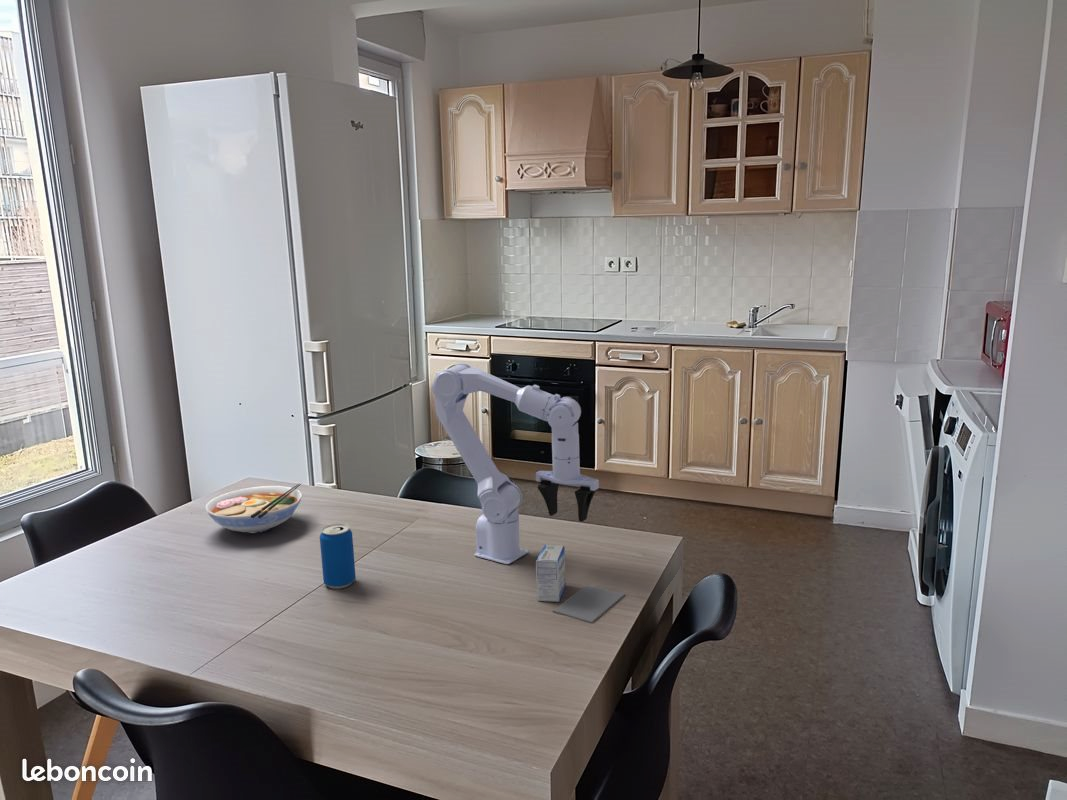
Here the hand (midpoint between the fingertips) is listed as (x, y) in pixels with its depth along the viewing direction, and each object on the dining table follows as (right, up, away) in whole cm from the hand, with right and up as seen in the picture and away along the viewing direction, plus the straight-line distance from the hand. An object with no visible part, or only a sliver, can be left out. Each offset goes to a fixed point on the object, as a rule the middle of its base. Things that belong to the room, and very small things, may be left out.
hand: (567, 517), depth 164 cm
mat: (+3, -14, -17) cm, 22 cm away
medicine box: (-4, -14, -12) cm, 18 cm away
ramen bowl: (-76, -7, +27) cm, 81 cm away
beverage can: (-48, -13, -5) cm, 50 cm away
